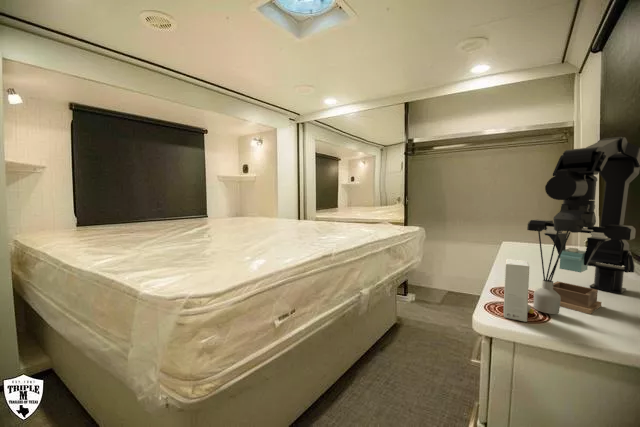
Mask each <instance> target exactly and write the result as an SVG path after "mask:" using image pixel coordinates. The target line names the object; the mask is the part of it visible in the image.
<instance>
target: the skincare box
mask: <svg viewBox="0 0 640 427" xmlns="http://www.w3.org/2000/svg"><path fill="white" fill-rule="evenodd" d="M504 269H505V270H504V271H505V273H504V274H505V275H504V296H503V318H505V319H510V320H515V321H521V322H528V313H527V310H528V305H529V286H530V264H529V262H528V261H527V260H520V259H518V260H517V259H510V258H506V260H505V268H504Z"/></svg>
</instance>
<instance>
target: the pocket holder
mask: <svg viewBox="0 0 640 427" xmlns="http://www.w3.org/2000/svg"><path fill="white" fill-rule="evenodd" d="M553 290H554V291H556V292H557V293H558V294H559V295H560V297H561V301H560V308H561V307H562V308H566V309H570V310H573V311H577V312H580V313H584V314H587V315H592V314H593V313H594V312H595V311H597V310H598V309H599V308H601V307H602V301H599V300H598V293H599V289H595V288H591V287H586V286H582V285H576V284H572V283H568V282H562V281H558V280H557V281H555V282H553Z"/></svg>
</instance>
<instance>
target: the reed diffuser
mask: <svg viewBox="0 0 640 427" xmlns="http://www.w3.org/2000/svg"><path fill="white" fill-rule="evenodd" d="M559 227H560V226H558V229H557V233H556V237H555V242H553V246H552V250H551V255H550V259H549V263H548V268H547V273H546V274H545V267H544V258H543V249H542V248H543V247H542V240H541V232H540V229H539V228H538V231H537V232H538V242H539V248H540V249H539V250H540V258H541V268H542V275H543V279H542V286H541V287H540V288H537V289H536V290H534V292H533V308H531V305H530V304H528V310H527V314H528V313H529V314H532V315H533V314H534V313H535V310H536V311H539V312H541V313H545V314H550V315H551V314H552V315H557V314H559V313H560V308H561V306H560V301H561V297H560V295H559V294H558V293H557V292H556V291H554V290H553V283H554V281H553V279H554V278H553V277H554V275H555V272H556V268H557V266H558V263H559V262H560V255H561V253H562V251H563V249H564V246H565V244H567V242H568V240H569V237H570V235H571V233H572V232H570V231H569V228H568V230H567V231H565V233H566V235H565V238H564V241H563V244H562V247H561V250H560V253H559V254H558V255H559V256H558V255H557V258H556V261H555V263H554V265H553V267H552V270H551V271H550V269H551V266H552V261H553V256H554V251H555V249H556V246H555V244H556V240H557V236H558V231H559ZM545 275H546V276H545Z"/></svg>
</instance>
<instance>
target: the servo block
mask: <svg viewBox="0 0 640 427" xmlns="http://www.w3.org/2000/svg"><path fill="white" fill-rule="evenodd" d="M585 253H586V250H579V248H576V247H568V248H567V249H566V250H563V251H562V253H561V255H560V258H559V269H560V270H565V271H571V272H576V273H582V272H585V271H587V270H588V267H589V266H588V265H584V257H585ZM558 256H559V254H557V257H558Z"/></svg>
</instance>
